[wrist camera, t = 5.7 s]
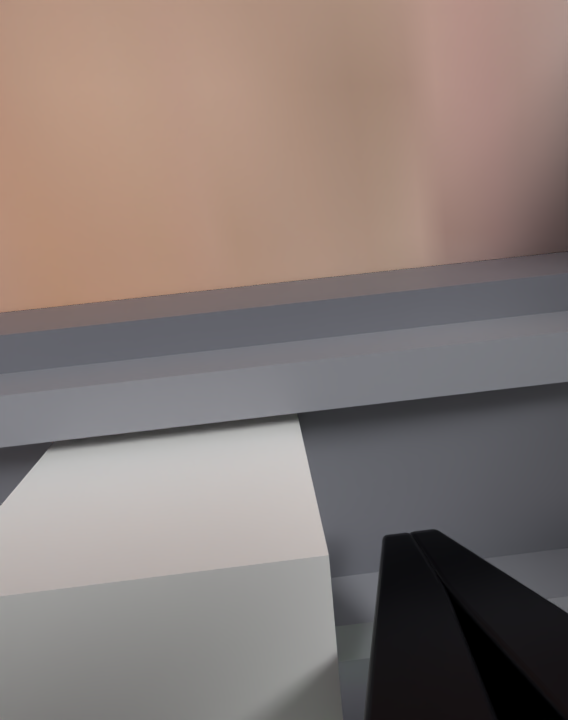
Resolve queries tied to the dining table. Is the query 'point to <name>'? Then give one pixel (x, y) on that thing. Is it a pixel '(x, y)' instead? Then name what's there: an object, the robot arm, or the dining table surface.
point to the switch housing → (338, 406)
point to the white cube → (168, 579)
